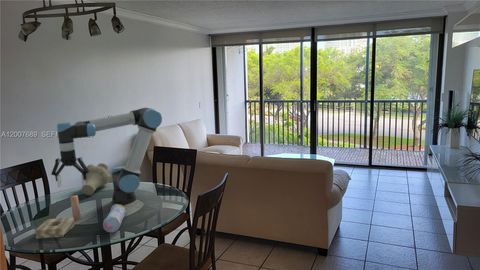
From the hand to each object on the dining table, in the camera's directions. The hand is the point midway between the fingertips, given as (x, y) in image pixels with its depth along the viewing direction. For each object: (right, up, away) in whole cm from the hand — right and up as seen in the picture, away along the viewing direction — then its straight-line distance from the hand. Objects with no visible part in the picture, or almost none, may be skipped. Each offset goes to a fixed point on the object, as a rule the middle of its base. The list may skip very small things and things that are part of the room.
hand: (72, 185), depth 197 cm
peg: (+1, -20, +4) cm, 21 cm away
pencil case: (+28, -21, -7) cm, 36 cm away
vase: (-11, -12, +54) cm, 56 cm away
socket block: (-3, -23, -11) cm, 26 cm away
